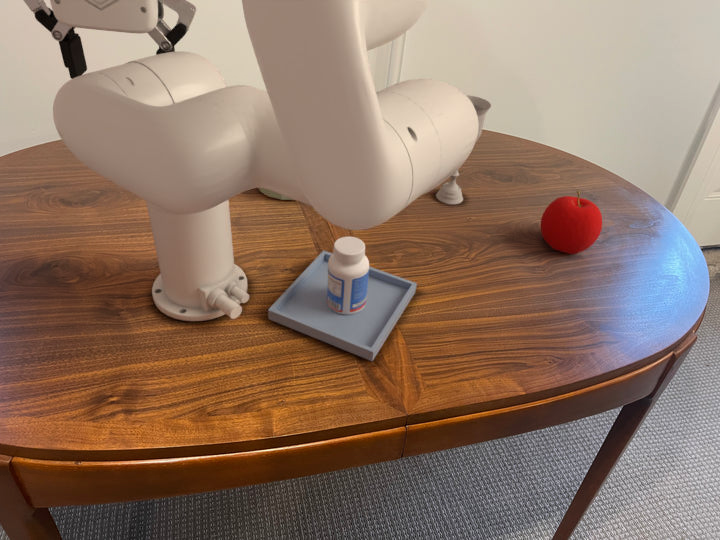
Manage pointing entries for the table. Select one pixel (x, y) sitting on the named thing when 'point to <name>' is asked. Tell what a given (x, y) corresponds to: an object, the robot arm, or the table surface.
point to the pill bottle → (347, 276)
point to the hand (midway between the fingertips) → (123, 78)
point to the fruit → (571, 224)
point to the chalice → (451, 190)
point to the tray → (349, 332)
